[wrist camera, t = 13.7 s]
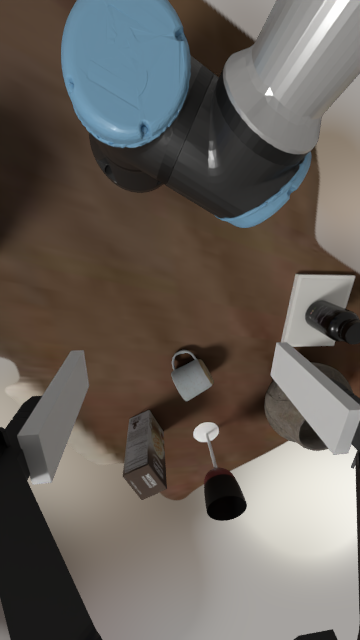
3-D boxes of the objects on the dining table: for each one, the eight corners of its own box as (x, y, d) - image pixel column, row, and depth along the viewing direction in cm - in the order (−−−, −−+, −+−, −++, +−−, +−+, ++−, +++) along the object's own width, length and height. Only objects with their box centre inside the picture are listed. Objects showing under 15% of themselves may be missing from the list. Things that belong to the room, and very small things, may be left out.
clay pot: (336, 394, 69) (383, 436, 55) (270, 427, 71) (300, 476, 57) (315, 337, 61) (364, 369, 47) (242, 376, 63) (268, 419, 49)
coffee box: (164, 431, 66) (168, 490, 52) (144, 440, 67) (142, 501, 52) (149, 408, 63) (149, 465, 48) (127, 418, 63) (121, 477, 48)
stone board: (295, 273, 54) (298, 274, 53) (351, 274, 55) (355, 275, 54) (280, 344, 60) (282, 346, 59) (330, 343, 62) (334, 345, 61)
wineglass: (197, 419, 66) (215, 493, 48) (225, 424, 68) (252, 498, 50) (187, 440, 69) (201, 519, 50) (214, 444, 70) (237, 521, 52)
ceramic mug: (211, 372, 61) (219, 391, 54) (184, 387, 62) (188, 408, 55) (191, 341, 57) (197, 357, 50) (162, 358, 58) (164, 375, 51)
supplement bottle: (336, 306, 57) (381, 325, 45) (319, 330, 58) (358, 354, 47) (315, 294, 55) (357, 311, 44) (298, 319, 57) (333, 342, 46)
